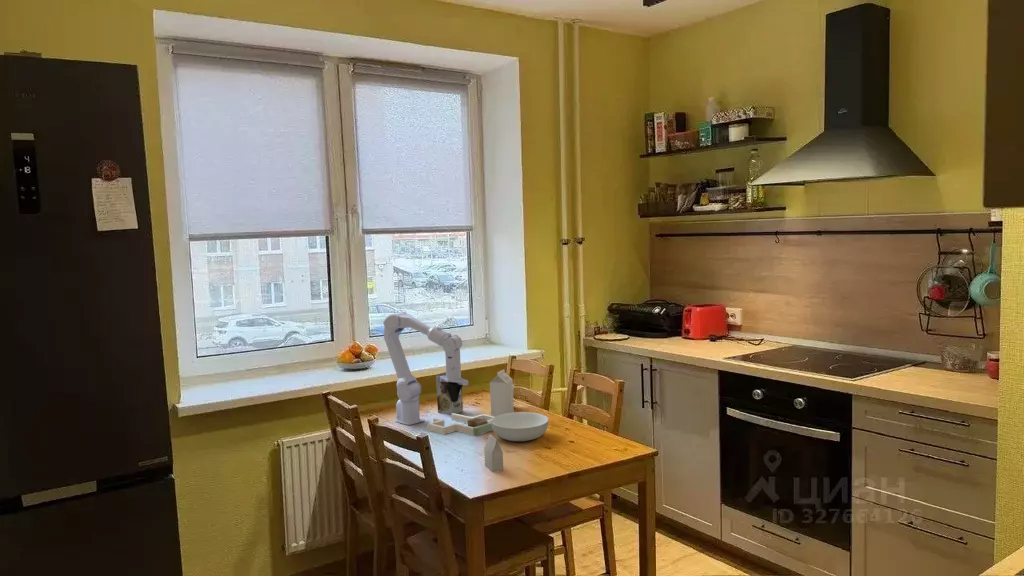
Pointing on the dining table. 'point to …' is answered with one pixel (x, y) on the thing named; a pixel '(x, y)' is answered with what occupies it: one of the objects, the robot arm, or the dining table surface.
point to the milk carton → (501, 394)
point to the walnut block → (476, 422)
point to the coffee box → (447, 398)
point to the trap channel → (440, 428)
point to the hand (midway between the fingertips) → (454, 401)
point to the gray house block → (493, 455)
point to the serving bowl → (520, 426)
